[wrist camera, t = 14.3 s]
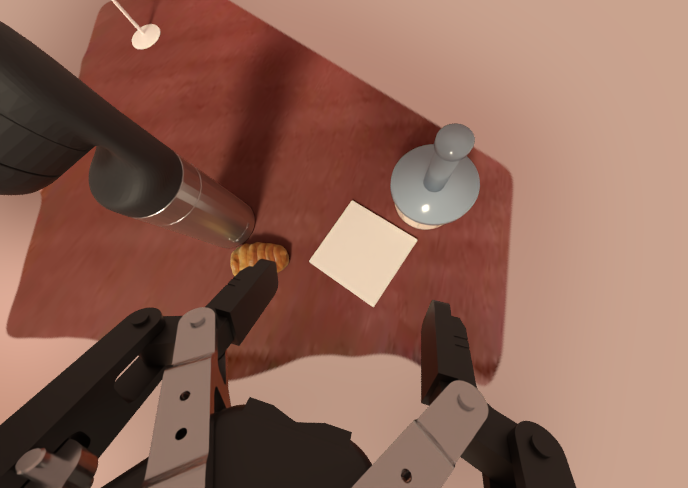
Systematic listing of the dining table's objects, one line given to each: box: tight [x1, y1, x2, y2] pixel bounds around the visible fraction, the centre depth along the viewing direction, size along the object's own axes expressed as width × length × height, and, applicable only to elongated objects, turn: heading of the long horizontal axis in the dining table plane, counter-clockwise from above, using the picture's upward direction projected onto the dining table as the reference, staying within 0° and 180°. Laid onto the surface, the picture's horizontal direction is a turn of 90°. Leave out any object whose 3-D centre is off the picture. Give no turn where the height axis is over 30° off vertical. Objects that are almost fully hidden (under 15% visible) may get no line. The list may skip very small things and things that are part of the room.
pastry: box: [231, 242, 289, 276], centre depth 42 cm, size 9×7×4 cm
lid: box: [391, 124, 480, 226], centre depth 31 cm, size 12×12×11 cm
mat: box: [309, 201, 417, 307], centre depth 41 cm, size 13×13×1 cm
